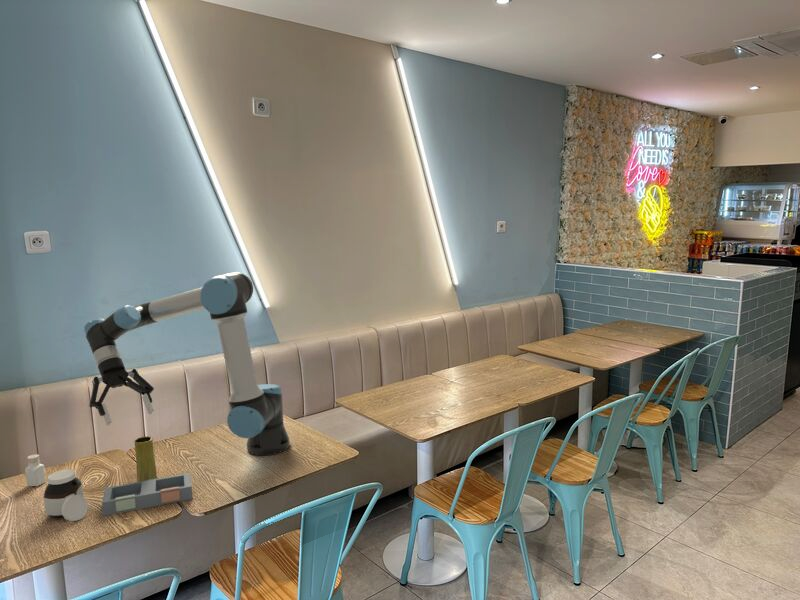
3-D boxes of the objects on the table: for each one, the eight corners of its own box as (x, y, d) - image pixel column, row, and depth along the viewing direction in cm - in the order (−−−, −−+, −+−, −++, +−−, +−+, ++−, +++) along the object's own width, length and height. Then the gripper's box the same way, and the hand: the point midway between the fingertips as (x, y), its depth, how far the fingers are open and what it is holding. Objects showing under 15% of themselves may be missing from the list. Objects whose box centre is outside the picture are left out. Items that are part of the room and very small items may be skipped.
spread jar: (63, 504, 173) (58, 467, 171) (100, 503, 173) (96, 466, 171) (37, 525, 161) (32, 486, 159) (77, 525, 161) (72, 485, 159)
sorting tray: (191, 484, 183) (190, 471, 183) (192, 499, 174) (191, 486, 173) (106, 500, 175) (105, 486, 174) (103, 516, 165) (101, 502, 164)
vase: (133, 482, 186) (129, 439, 184) (152, 475, 190) (148, 434, 188) (142, 488, 182) (137, 444, 180) (161, 481, 186) (157, 438, 184)
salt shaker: (37, 487, 184) (33, 459, 183) (26, 487, 185) (22, 458, 183) (47, 482, 188) (43, 454, 186) (36, 481, 189) (32, 453, 187)
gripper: (142, 360, 208) (163, 412, 202) (66, 375, 189) (87, 433, 183) (149, 349, 203) (171, 403, 197) (72, 363, 185) (93, 423, 179)
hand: (130, 418), depth 190 cm, fingers open, 13 cm apart
